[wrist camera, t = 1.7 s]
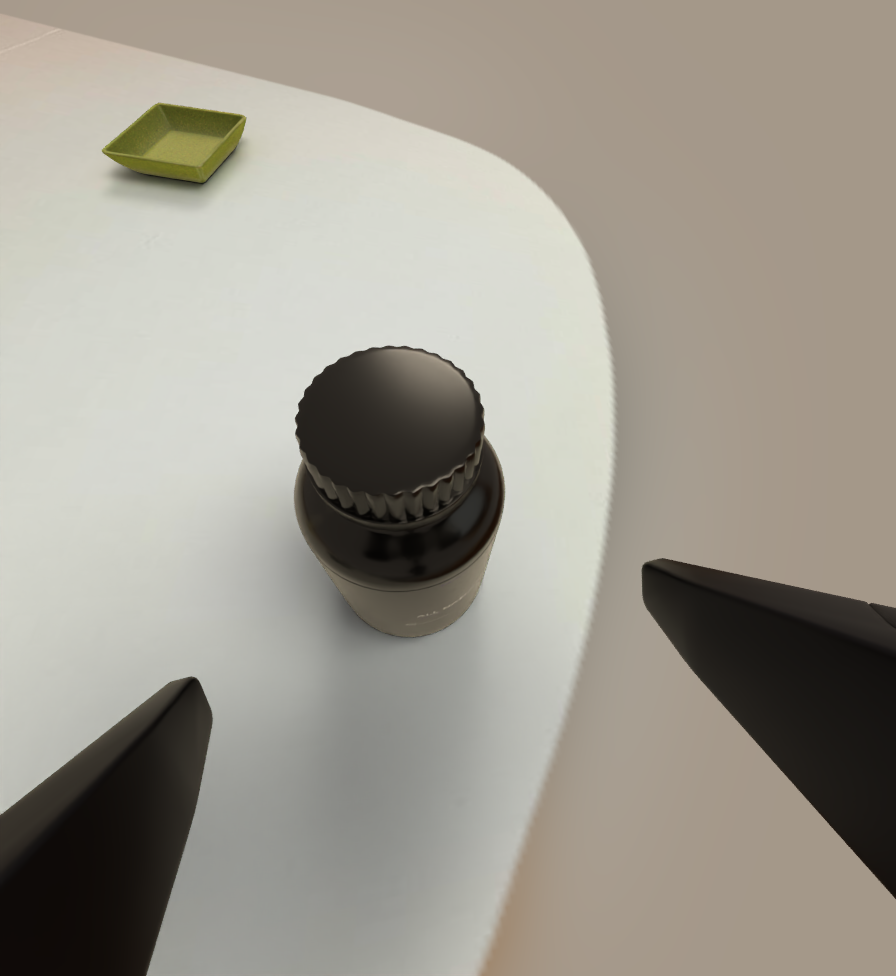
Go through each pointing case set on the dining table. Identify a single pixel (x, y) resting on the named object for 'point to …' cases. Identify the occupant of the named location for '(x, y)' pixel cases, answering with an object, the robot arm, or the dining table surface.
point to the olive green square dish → (177, 142)
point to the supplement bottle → (398, 486)
